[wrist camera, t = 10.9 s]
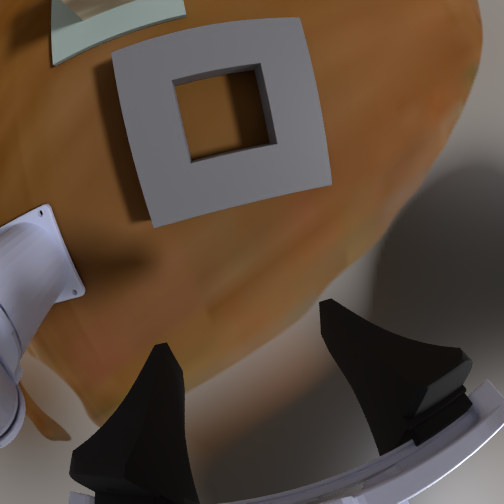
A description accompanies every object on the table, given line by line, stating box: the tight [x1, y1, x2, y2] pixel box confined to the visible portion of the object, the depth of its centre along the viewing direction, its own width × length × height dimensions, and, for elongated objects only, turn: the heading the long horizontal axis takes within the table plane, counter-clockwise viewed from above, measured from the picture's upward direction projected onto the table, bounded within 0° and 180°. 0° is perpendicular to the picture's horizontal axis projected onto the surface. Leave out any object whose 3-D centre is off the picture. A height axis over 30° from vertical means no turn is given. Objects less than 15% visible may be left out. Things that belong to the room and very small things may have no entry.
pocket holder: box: [111, 18, 332, 228], centre depth 15 cm, size 12×12×2 cm
